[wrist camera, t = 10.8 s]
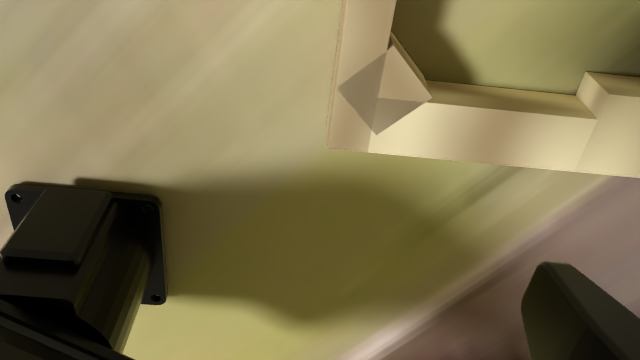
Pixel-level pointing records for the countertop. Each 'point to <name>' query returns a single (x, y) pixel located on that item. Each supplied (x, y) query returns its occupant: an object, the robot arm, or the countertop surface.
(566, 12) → the countertop surface
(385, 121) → the wooden frame
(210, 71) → the countertop surface
